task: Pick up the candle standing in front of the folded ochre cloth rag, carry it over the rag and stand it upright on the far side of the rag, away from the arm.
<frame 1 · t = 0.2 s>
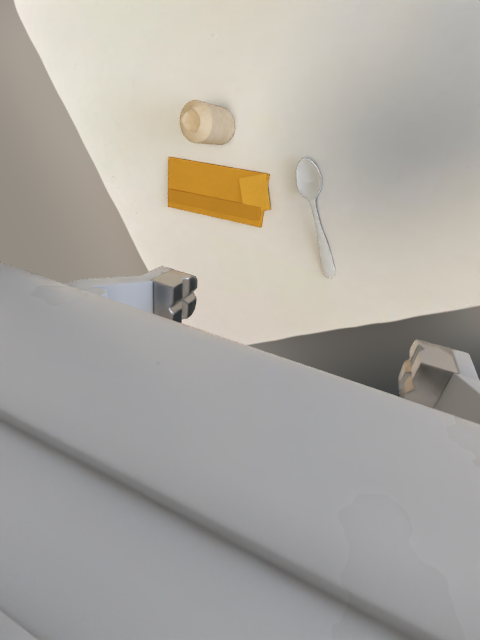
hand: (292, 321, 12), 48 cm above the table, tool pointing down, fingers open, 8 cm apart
spoon: (319, 221, 56), on the table
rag: (215, 191, 61), on the table
candle: (221, 126, 56), on the table
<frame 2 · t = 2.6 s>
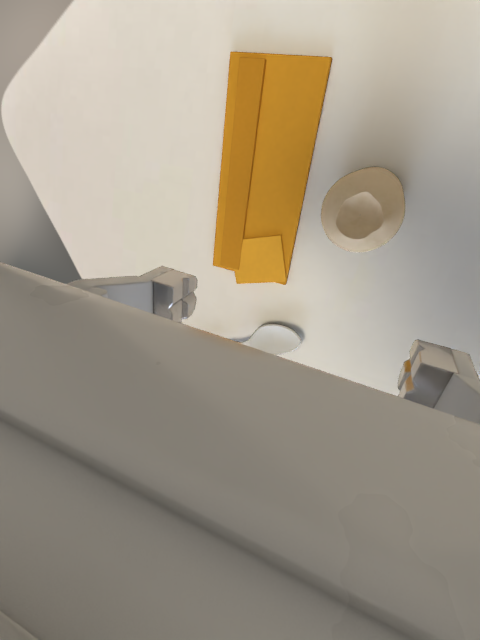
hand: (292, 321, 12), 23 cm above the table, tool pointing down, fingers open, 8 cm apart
spoon: (229, 340, 43), on the table
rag: (262, 180, 33), on the table
candle: (369, 199, 30), on the table
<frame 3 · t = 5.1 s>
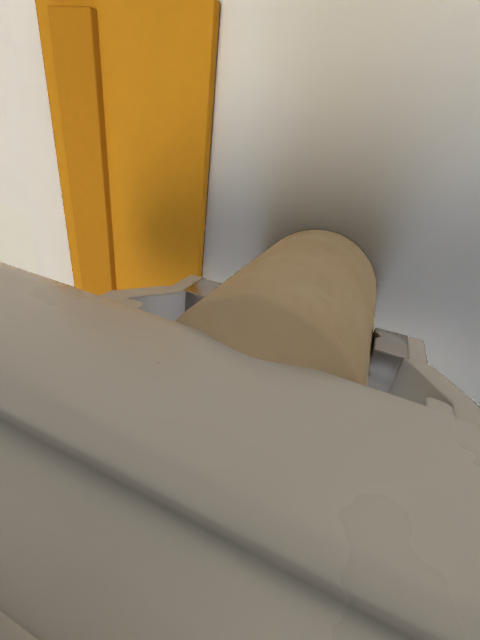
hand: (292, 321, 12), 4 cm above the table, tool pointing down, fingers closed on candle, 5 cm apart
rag: (133, 238, 18), on the table
candle: (315, 285, 16), on the table, touching gripper
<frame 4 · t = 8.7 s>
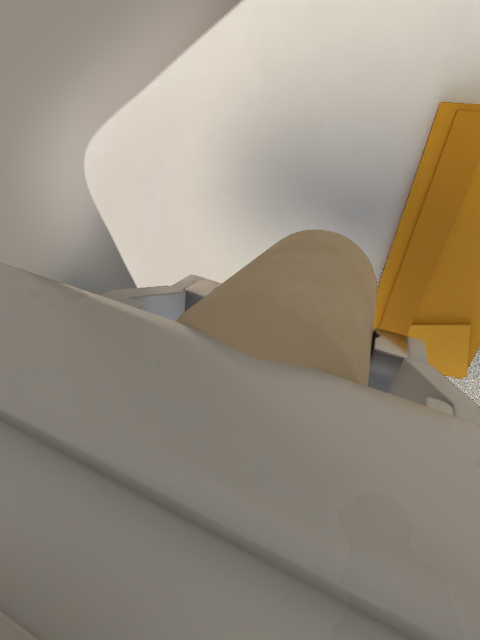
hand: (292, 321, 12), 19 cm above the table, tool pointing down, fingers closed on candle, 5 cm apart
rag: (451, 258, 26), on the table
candle: (315, 285, 16), point 15 cm above the table, touching gripper
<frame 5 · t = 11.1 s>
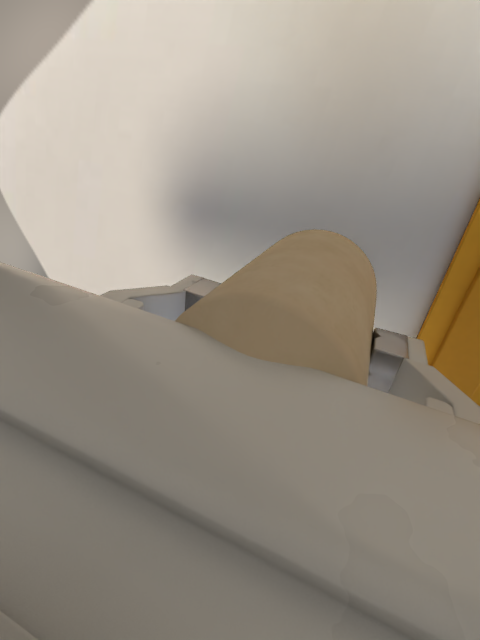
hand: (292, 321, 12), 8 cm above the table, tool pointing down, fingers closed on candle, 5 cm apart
candle: (315, 285, 16), point 4 cm above the table, touching gripper
when the fingers open (4 cm above the table, at t = 12.6 s): candle stays where it is, on the table.
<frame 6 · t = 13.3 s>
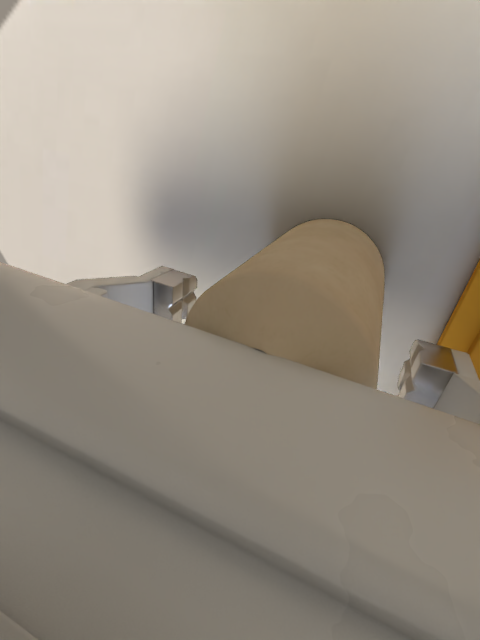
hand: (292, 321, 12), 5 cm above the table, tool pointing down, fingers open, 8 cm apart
candle: (324, 274, 16), on the table
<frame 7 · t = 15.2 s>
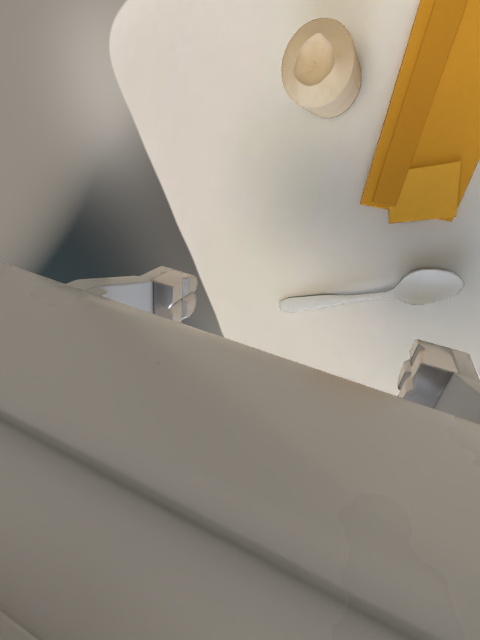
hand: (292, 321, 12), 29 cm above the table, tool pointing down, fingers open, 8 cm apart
spoon: (360, 293, 40), on the table
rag: (445, 97, 29), on the table
candle: (331, 86, 32), on the table
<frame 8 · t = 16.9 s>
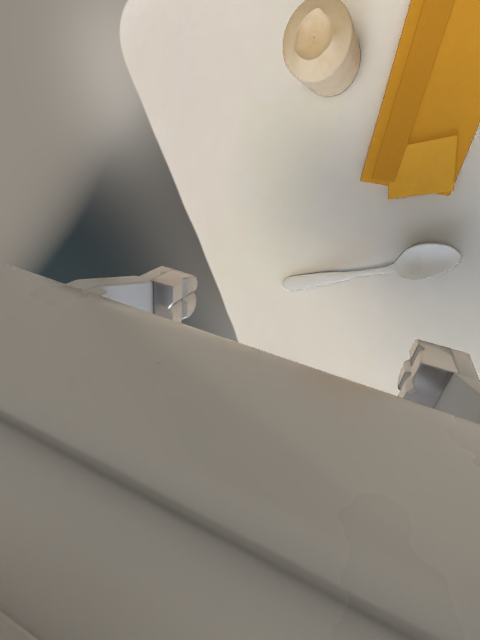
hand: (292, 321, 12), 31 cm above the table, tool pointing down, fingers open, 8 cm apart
spoon: (360, 270, 41), on the table
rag: (442, 73, 30), on the table
candle: (332, 65, 33), on the table
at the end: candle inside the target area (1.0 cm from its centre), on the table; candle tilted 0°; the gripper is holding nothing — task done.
